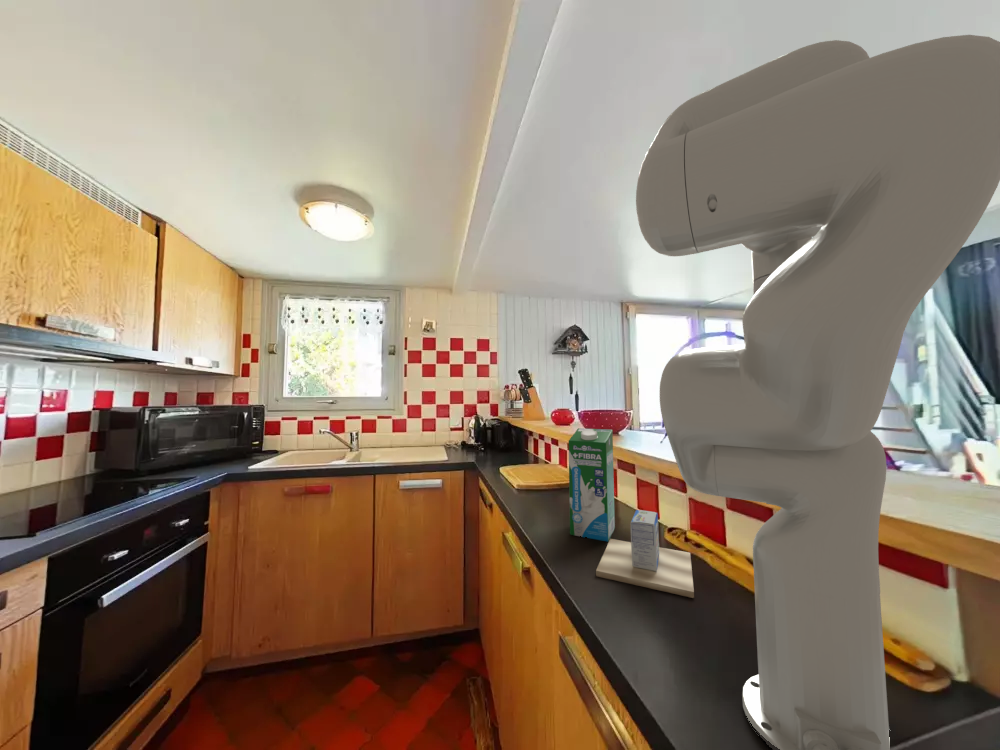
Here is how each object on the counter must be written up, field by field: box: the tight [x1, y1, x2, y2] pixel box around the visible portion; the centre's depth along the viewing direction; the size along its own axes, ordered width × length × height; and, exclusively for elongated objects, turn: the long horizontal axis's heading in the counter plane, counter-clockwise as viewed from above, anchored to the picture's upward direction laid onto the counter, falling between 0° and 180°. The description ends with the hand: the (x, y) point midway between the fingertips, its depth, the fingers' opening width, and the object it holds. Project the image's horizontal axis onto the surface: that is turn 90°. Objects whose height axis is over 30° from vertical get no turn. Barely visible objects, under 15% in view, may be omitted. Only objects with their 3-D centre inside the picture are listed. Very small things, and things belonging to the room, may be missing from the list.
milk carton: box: [568, 428, 616, 543], centre depth 86 cm, size 9×9×25 cm
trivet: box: [595, 538, 695, 599], centre depth 68 cm, size 16×16×1 cm
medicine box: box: [630, 509, 660, 572], centre depth 69 cm, size 8×4×9 cm, turn 152°
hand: (788, 397), depth 54 cm, fingers open, 9 cm apart
